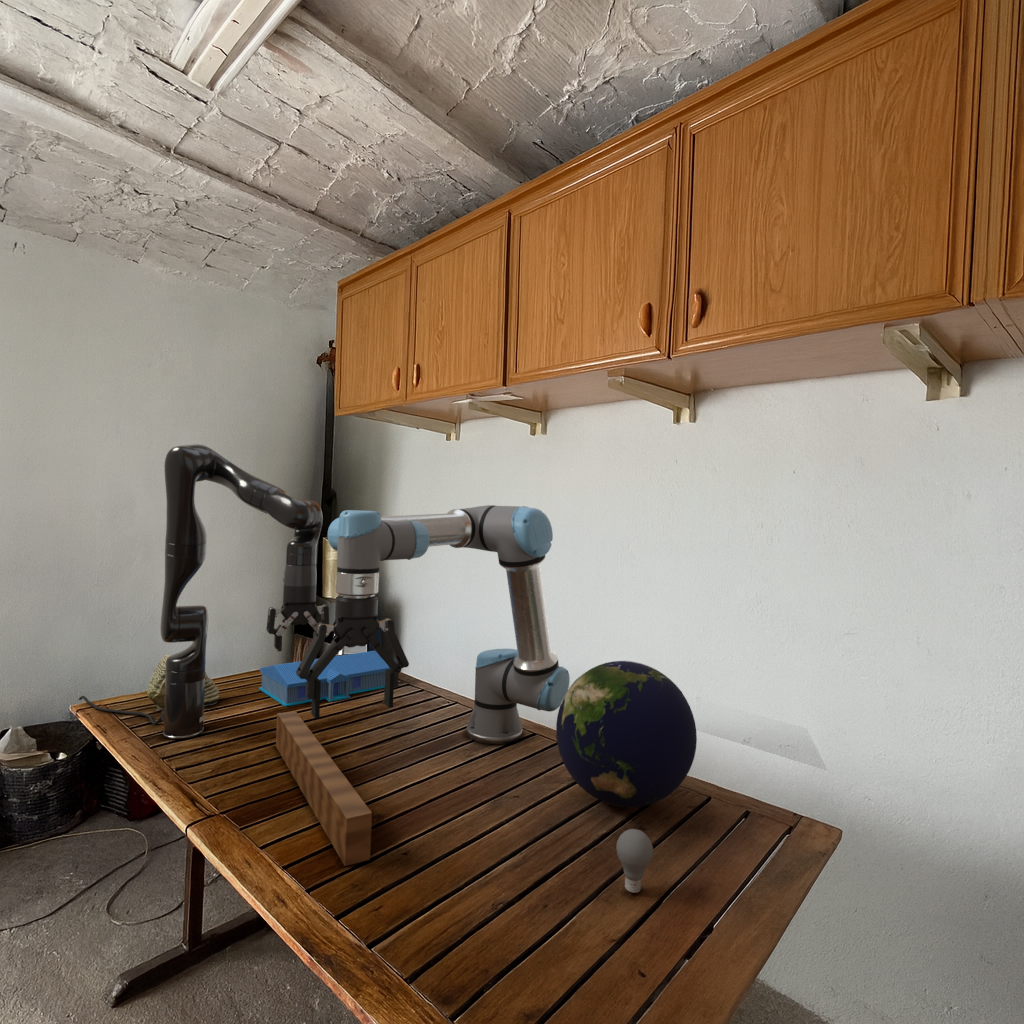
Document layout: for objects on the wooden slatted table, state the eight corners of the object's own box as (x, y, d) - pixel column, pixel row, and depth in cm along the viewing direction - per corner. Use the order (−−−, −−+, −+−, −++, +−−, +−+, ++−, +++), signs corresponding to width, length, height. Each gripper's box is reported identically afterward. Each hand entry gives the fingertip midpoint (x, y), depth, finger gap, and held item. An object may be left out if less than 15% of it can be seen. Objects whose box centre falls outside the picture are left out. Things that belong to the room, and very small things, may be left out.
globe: (533, 814, 130) (540, 669, 129) (575, 761, 157) (580, 641, 157) (683, 851, 118) (691, 691, 118) (699, 786, 146) (706, 657, 146)
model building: (289, 709, 186) (291, 675, 185) (258, 688, 204) (259, 657, 204) (403, 687, 212) (405, 657, 212) (366, 670, 230) (368, 643, 230)
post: (275, 746, 159) (277, 713, 159) (294, 743, 161) (295, 710, 161) (344, 866, 109) (346, 818, 109) (370, 859, 111) (372, 812, 111)
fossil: (144, 707, 182) (145, 655, 182) (212, 696, 194) (213, 647, 194) (151, 716, 175) (153, 662, 175) (221, 703, 188) (223, 653, 188)
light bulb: (610, 879, 108) (613, 822, 108) (644, 879, 109) (647, 822, 109) (619, 902, 102) (622, 840, 102) (655, 901, 103) (658, 840, 103)
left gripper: (272, 585, 146) (269, 655, 146) (333, 583, 154) (331, 650, 154) (266, 581, 152) (263, 648, 153) (325, 579, 160) (322, 643, 160)
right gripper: (290, 601, 106) (286, 727, 106) (428, 595, 119) (424, 707, 119) (281, 594, 112) (277, 713, 112) (413, 589, 125) (409, 695, 125)
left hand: (297, 649), depth 153 cm, fingers open, 8 cm apart
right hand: (352, 710), depth 116 cm, fingers open, 13 cm apart
